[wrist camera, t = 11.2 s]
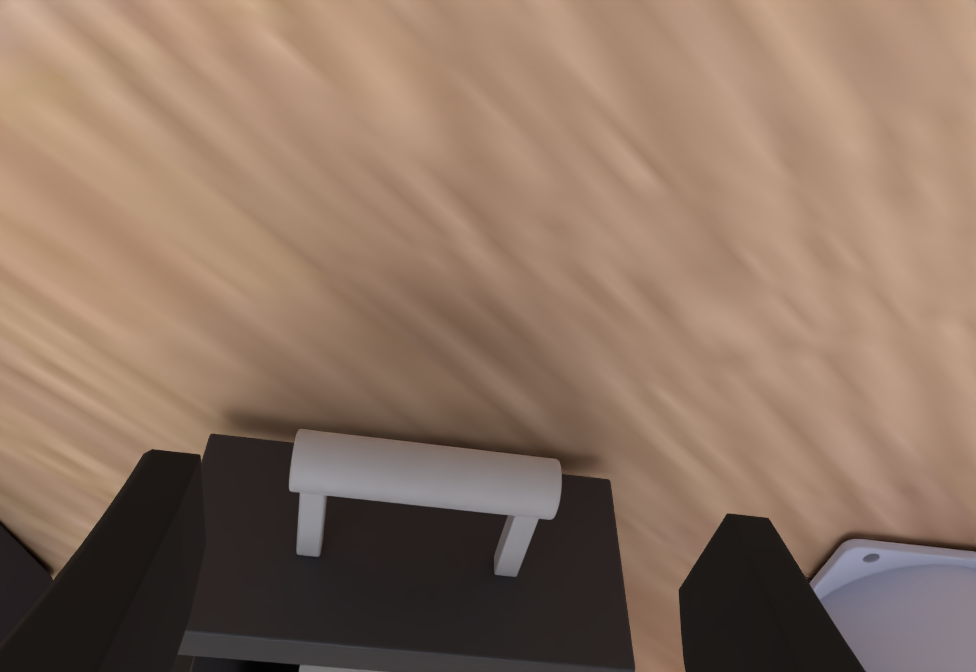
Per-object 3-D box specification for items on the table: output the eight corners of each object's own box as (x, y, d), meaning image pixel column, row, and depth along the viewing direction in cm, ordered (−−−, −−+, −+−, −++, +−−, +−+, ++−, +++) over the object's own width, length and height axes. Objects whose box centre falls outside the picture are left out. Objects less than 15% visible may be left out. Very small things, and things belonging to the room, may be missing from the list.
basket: (203, 322, 21) (131, 523, 16) (655, 381, 22) (695, 581, 18) (222, 661, 32) (182, 830, 28) (515, 686, 34) (520, 849, 30)
